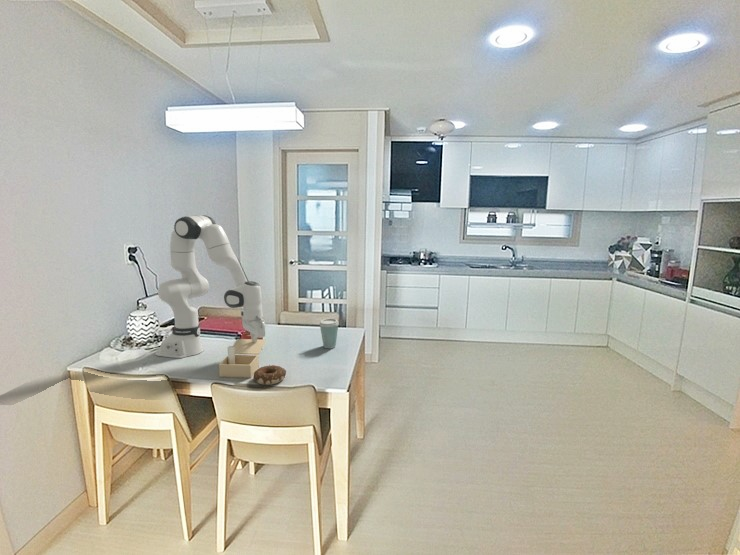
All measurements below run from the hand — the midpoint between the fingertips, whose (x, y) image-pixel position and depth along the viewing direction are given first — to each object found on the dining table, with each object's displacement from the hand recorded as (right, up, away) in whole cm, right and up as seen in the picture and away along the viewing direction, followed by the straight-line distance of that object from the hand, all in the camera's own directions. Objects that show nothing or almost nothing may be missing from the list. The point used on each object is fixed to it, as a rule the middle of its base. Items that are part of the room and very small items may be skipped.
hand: (254, 341), depth 194 cm
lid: (-2, -2, -3) cm, 4 cm away
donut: (+13, -14, -21) cm, 28 cm away
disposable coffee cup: (+35, -6, +21) cm, 41 cm away
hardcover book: (-8, -6, +23) cm, 25 cm away
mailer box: (-3, -12, -14) cm, 18 cm away
